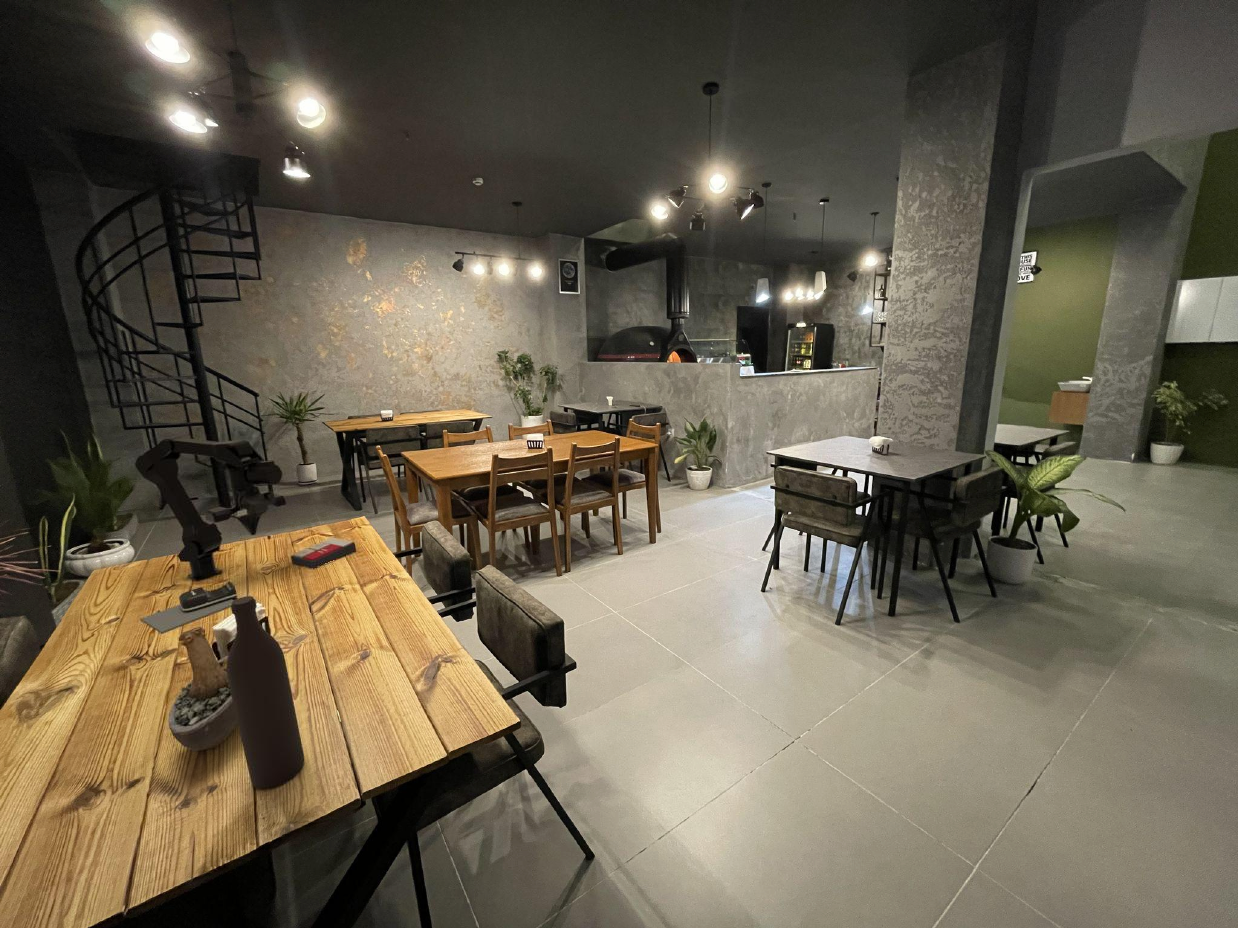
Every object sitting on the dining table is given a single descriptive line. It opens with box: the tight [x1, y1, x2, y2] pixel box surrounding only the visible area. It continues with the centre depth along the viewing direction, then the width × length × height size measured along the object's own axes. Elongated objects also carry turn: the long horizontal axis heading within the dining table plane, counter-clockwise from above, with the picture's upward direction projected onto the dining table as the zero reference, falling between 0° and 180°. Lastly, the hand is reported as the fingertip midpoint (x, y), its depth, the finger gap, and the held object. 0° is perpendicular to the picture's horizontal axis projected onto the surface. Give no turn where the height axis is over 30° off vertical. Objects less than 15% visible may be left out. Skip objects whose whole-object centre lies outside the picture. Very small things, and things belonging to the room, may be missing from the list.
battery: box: [178, 581, 238, 612], centre depth 132 cm, size 7×4×11 cm
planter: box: [168, 626, 238, 751], centre depth 85 cm, size 15×17×20 cm
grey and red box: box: [290, 537, 357, 570], centre depth 161 cm, size 11×4×15 cm
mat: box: [140, 599, 235, 634], centre depth 128 cm, size 13×16×1 cm
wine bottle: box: [226, 595, 305, 791], centre depth 74 cm, size 7×7×30 cm
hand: (253, 534), depth 145 cm, fingers closed
